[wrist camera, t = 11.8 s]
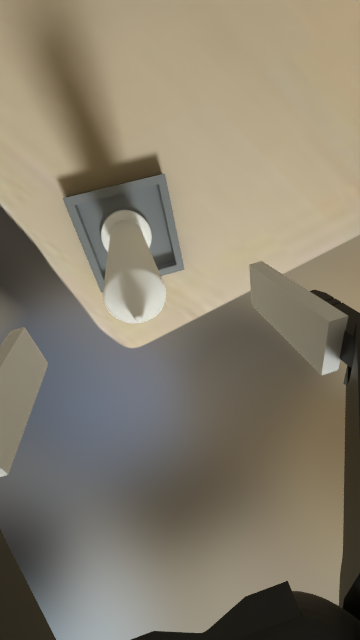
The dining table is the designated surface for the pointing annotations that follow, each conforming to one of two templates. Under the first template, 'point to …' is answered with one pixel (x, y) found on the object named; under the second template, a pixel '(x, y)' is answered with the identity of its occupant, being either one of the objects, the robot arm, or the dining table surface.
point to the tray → (135, 196)
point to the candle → (130, 269)
